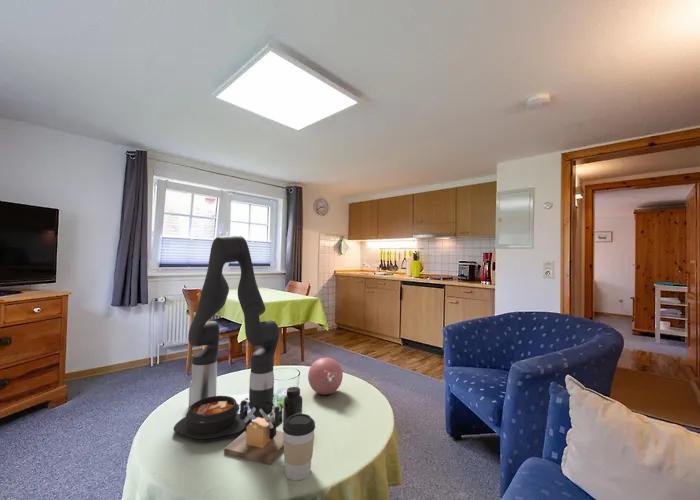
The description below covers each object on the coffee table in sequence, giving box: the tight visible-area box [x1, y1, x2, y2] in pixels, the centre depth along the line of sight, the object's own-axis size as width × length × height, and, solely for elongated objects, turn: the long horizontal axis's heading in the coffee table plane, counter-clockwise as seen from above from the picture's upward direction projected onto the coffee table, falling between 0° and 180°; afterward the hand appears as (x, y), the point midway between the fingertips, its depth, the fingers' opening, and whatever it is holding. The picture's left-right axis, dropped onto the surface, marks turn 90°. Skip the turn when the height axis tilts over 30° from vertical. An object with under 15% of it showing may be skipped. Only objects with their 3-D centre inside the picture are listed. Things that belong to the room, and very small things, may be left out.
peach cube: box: [246, 417, 271, 448], centre depth 100 cm, size 6×6×6 cm
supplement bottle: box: [282, 386, 303, 424], centre depth 114 cm, size 7×7×12 cm
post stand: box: [223, 429, 284, 466], centre depth 100 cm, size 16×14×6 cm
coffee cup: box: [282, 413, 316, 481], centre depth 88 cm, size 9×9×15 cm
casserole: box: [173, 395, 245, 440], centre depth 109 cm, size 25×19×8 cm
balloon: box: [307, 357, 344, 396], centre depth 137 cm, size 15×20×15 cm
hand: (260, 435), depth 100 cm, fingers open, 8 cm apart
